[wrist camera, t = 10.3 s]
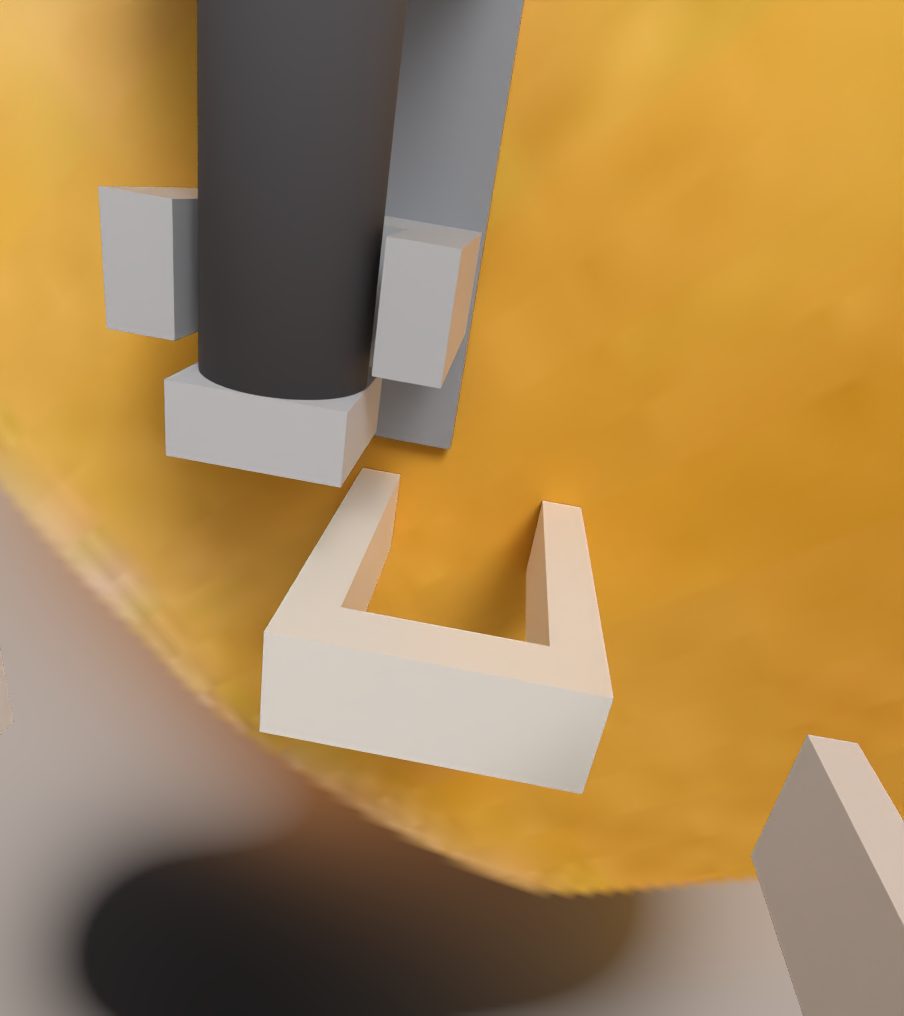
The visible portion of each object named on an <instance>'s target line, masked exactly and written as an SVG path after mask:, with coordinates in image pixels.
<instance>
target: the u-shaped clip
mask: <svg viewBox="0 0 904 1016" xmlns="http://www.w3.org/2000/svg"><path fill="white" fill-rule="evenodd" d="M400 476H401V474H395V473H390V472H384V471H379V470H373V469H368V468H362V470H361V471H360V473H359V475H358V476H357V478H356V480H355V481H354V483H353V485H352V486H351V488H350V490H349V491H348V493H347V494H346V496H345V498H344V499H343V501H342V503H341V504H340V506H339V508H338V509H337V511H336V513H335V514H334V516H333V518H332V519H331V521H330V523H329V524H328V526H327V528H326V529H325V531H324V533H323V534H322V536H321V538H320V539H319V541H318V543H317V544H316V546H315V548H314V549H313V551H312V553H311V554H310V556H309V558H308V559H307V561H306V563H305V564H304V566H303V568H302V569H301V571H300V573H299V574H298V576H297V578H296V579H295V581H294V583H293V584H292V586H291V588H290V589H289V591H288V593H287V594H286V596H285V598H284V599H283V601H282V603H281V604H280V606H279V608H278V609H277V611H276V613H275V614H274V616H273V617H272V619H271V621H270V622H269V624H268V626H267V627H266V629H265V631H264V642H263V664H262V686H261V708H260V730H259V732H264V733H269V734H274V735H279V736H285V737H290V738H295V739H300V740H305V741H310V742H316V743H321V744H326V745H331V746H336V747H341V748H347V749H352V750H357V751H362V752H367V753H372V754H378V755H383V756H388V757H393V758H398V759H403V760H409V761H414V762H419V763H424V764H429V765H434V766H440V767H445V768H450V769H455V770H460V771H465V772H470V773H476V774H481V775H486V776H491V777H496V778H501V779H507V780H512V781H517V782H522V783H527V784H532V785H538V786H543V787H548V788H553V789H558V790H563V791H569V792H574V793H579V794H582V793H583V790H584V787H585V784H586V781H587V778H588V775H589V772H590V769H591V766H592V763H593V760H594V757H595V754H596V751H597V747H598V744H599V741H600V738H601V735H602V732H603V729H604V726H605V723H606V720H607V717H608V714H609V711H610V708H611V705H612V702H613V698H614V697H613V691H612V685H611V680H610V674H609V668H608V662H607V656H606V650H605V644H604V639H603V633H602V627H601V621H600V615H599V609H598V603H597V598H596V592H595V586H594V580H593V574H592V568H591V562H590V557H589V551H588V545H587V539H586V533H585V527H584V521H583V515H582V510H581V507H576V506H570V505H565V504H559V503H554V502H548V501H542V505H541V510H540V514H539V518H538V523H537V527H536V531H535V535H534V540H533V544H532V548H531V553H530V557H529V561H528V565H527V570H526V642H524V641H519V640H513V639H508V638H503V637H497V636H492V635H487V634H481V633H476V632H471V631H466V630H460V629H455V628H450V627H444V626H439V625H434V624H428V623H423V622H418V621H412V620H407V619H402V618H397V617H391V616H386V615H381V614H375V613H370V612H366V610H367V608H368V605H369V602H370V600H371V597H372V595H373V592H374V590H375V587H376V584H377V582H378V579H379V577H380V574H381V571H382V569H383V566H384V564H385V561H386V558H387V556H388V553H389V551H390V548H391V544H392V536H393V528H394V521H395V513H396V506H397V498H398V491H399V483H400Z"/></svg>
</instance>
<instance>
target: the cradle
mask: <svg viewBox="0 0 904 1016" xmlns="http://www.w3.org/2000/svg"><path fill="white" fill-rule="evenodd" d="M523 6H524V0H407V5H406V15H405V25H404V34H403V44H402V53H401V63H400V73H399V82H398V92H397V102H396V111H395V121H394V130H393V140H392V150H391V159H390V169H389V178H388V188H387V198H386V207H385V217H384V226H383V236H382V246H381V255H380V265H379V275H378V284H377V294H376V303H375V313H374V323H373V332H372V342H371V351H370V361H369V367H373V368H372V376H374V377H379V378H382V385H381V394H380V403H379V412H378V421H377V430H376V433H375V434H374V436H378V437H384V438H389V439H395V440H400V441H406V442H411V443H417V444H422V445H428V446H433V447H439V448H444V449H450V447H451V444H452V438H453V432H454V426H455V420H456V414H457V408H458V402H459V396H460V390H461V383H462V377H463V371H464V365H465V359H466V353H467V347H468V341H469V335H470V329H471V323H472V316H473V310H474V304H475V298H476V292H477V286H478V280H479V274H480V268H481V262H482V255H483V249H484V243H485V237H486V231H487V225H488V219H489V213H490V207H491V201H492V194H493V188H494V182H495V176H496V170H497V164H498V158H499V152H500V146H501V140H502V134H503V127H504V121H505V115H506V109H507V103H508V97H509V91H510V85H511V79H512V73H513V66H514V60H515V54H516V48H517V42H518V36H519V30H520V24H521V18H522V12H523ZM98 189H99V206H100V223H101V240H102V257H103V273H104V290H105V307H106V324H107V329H112V330H117V331H123V332H128V333H134V334H140V335H145V336H151V337H156V338H162V339H167V340H173V341H175V340H178V339H180V338H183V337H185V336H187V335H190V334H192V333H195V332H197V331H198V188H176V187H124V186H98Z"/></svg>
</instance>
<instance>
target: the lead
mask: <svg viewBox="0 0 904 1016" xmlns="http://www.w3.org/2000/svg"><path fill="white" fill-rule="evenodd" d="M406 5H407V0H197V97H198V362H197V363H195V364H193V365H191V366H189V367H187V368H185V369H183V370H181V371H179V372H177V373H175V374H174V375H172V376H170V377H168V378H166V379H164V402H165V441H166V456H171V457H177V458H182V459H188V460H193V461H199V462H204V463H209V464H215V465H220V466H226V467H231V468H237V469H242V470H247V471H253V472H258V473H264V474H269V475H275V476H280V477H286V478H291V479H296V480H302V481H307V482H313V483H318V484H324V485H329V486H335V487H340V488H341V486H342V485H343V483H344V481H345V480H346V478H347V477H348V475H349V474H350V472H351V470H352V469H353V467H354V466H355V464H356V463H357V461H358V459H359V458H360V456H361V455H362V453H363V452H364V450H365V448H366V447H367V445H368V444H369V442H370V441H371V439H372V437H373V436H374V434H375V433H376V430H377V421H378V412H379V403H380V394H381V385H382V378H379V377H374V376H372V368H373V367H369V361H370V351H371V342H372V332H373V323H374V313H375V303H376V294H377V284H378V275H379V265H380V255H381V246H382V236H383V226H384V217H385V207H386V198H387V188H388V178H389V169H390V159H391V150H392V140H393V130H394V121H395V111H396V102H397V92H398V82H399V73H400V63H401V53H402V44H403V34H404V25H405V15H406Z"/></svg>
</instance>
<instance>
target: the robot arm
mask: <svg viewBox="0 0 904 1016" xmlns="http://www.w3.org/2000/svg"><path fill="white" fill-rule="evenodd" d="M13 722H14V719H13V713H12V708H11V703H10V697H9V692H8V687H7V681H6V676H5V671H4V665H3V661H2V655H1V649H0V735H1V734H2V733H3V732H4V731H5V730H6V729H7V728H8V727H9V726H10V725H11V724H12V723H13ZM751 858H752V861H753V864H754V867H755V870H756V873H757V876H758V879H759V882H760V885H761V888H762V892H763V894H764V897H765V901H766V904H767V907H768V910H769V913H770V916H771V919H772V922H773V925H774V928H775V931H776V934H777V937H778V940H779V944H780V947H781V950H782V953H783V955H784V959H785V962H786V965H787V968H788V971H789V974H790V977H791V980H792V983H793V986H794V989H795V992H796V995H797V999H798V1002H799V1005H800V1007H801V1011H802V1014H803V1016H904V821H903V819H902V818H901V816H900V814H899V813H898V811H897V809H896V807H895V806H894V804H893V802H892V801H891V799H890V797H889V795H888V794H887V792H886V790H885V789H884V787H883V785H882V784H881V782H880V780H879V778H878V777H877V775H876V773H875V772H874V770H873V768H872V767H871V765H870V763H869V761H868V760H867V758H866V756H865V755H864V753H863V751H862V750H861V748H860V746H859V744H858V743H854V742H848V741H843V740H837V739H831V738H825V737H820V736H814V735H808V734H807V736H806V739H805V741H804V743H803V745H802V747H801V749H800V751H799V754H798V756H797V758H796V760H795V762H794V764H793V766H792V769H791V771H790V773H789V775H788V777H787V779H786V781H785V784H784V786H783V788H782V790H781V792H780V794H779V796H778V799H777V801H776V803H775V805H774V807H773V809H772V811H771V814H770V816H769V818H768V820H767V822H766V824H765V826H764V829H763V831H762V833H761V835H760V837H759V839H758V841H757V844H756V846H755V848H754V850H753V852H752V854H751Z"/></svg>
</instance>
